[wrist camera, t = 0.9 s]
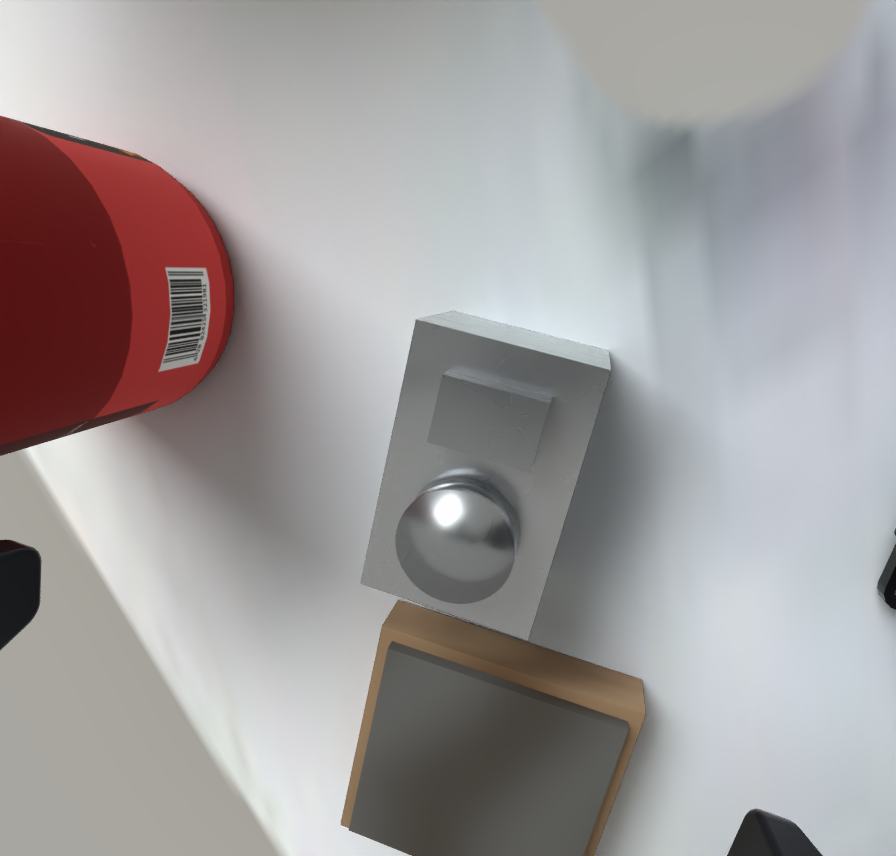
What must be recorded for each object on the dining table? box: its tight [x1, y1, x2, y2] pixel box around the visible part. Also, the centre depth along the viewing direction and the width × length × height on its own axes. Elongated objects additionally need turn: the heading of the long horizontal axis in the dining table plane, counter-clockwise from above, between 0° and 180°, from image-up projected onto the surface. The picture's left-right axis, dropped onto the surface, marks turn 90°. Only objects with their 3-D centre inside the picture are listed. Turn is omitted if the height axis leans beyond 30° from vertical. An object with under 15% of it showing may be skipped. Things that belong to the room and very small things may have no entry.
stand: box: [341, 600, 646, 856], centre depth 20 cm, size 8×8×2 cm
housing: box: [361, 311, 611, 641], centre depth 16 cm, size 4×7×5 cm, turn 167°
